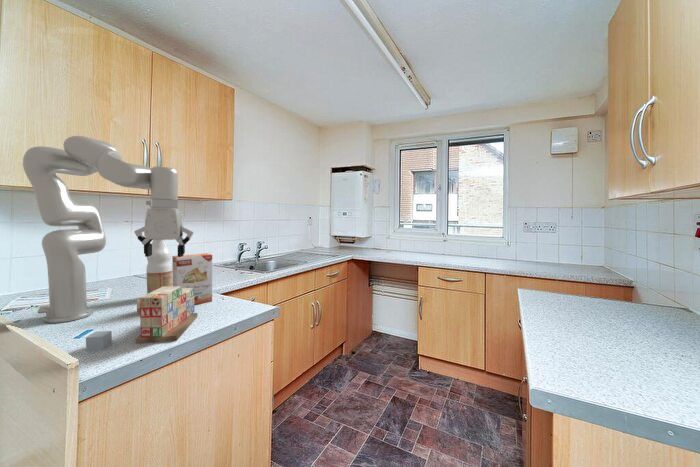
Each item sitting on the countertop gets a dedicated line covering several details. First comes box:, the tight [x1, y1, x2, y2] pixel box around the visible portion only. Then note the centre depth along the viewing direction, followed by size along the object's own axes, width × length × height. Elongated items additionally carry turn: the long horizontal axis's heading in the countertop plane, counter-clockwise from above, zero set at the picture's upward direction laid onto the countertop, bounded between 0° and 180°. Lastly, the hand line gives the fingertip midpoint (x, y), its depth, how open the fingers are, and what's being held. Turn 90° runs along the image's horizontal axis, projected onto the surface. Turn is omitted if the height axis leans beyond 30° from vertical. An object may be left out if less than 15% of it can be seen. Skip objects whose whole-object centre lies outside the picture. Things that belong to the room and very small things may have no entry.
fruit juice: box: [146, 239, 173, 294], centre depth 126 cm, size 9×9×28 cm
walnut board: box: [134, 312, 198, 344], centre depth 94 cm, size 11×20×2 cm, turn 12°
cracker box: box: [171, 252, 213, 306], centre depth 119 cm, size 14×6×21 cm, turn 137°
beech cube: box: [136, 298, 140, 317], centre depth 108 cm, size 5×5×5 cm
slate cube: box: [85, 330, 113, 352], centre depth 80 cm, size 4×4×4 cm
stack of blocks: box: [139, 285, 195, 337], centre depth 94 cm, size 21×6×12 cm, turn 5°
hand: (164, 256), depth 95 cm, fingers open, 9 cm apart
